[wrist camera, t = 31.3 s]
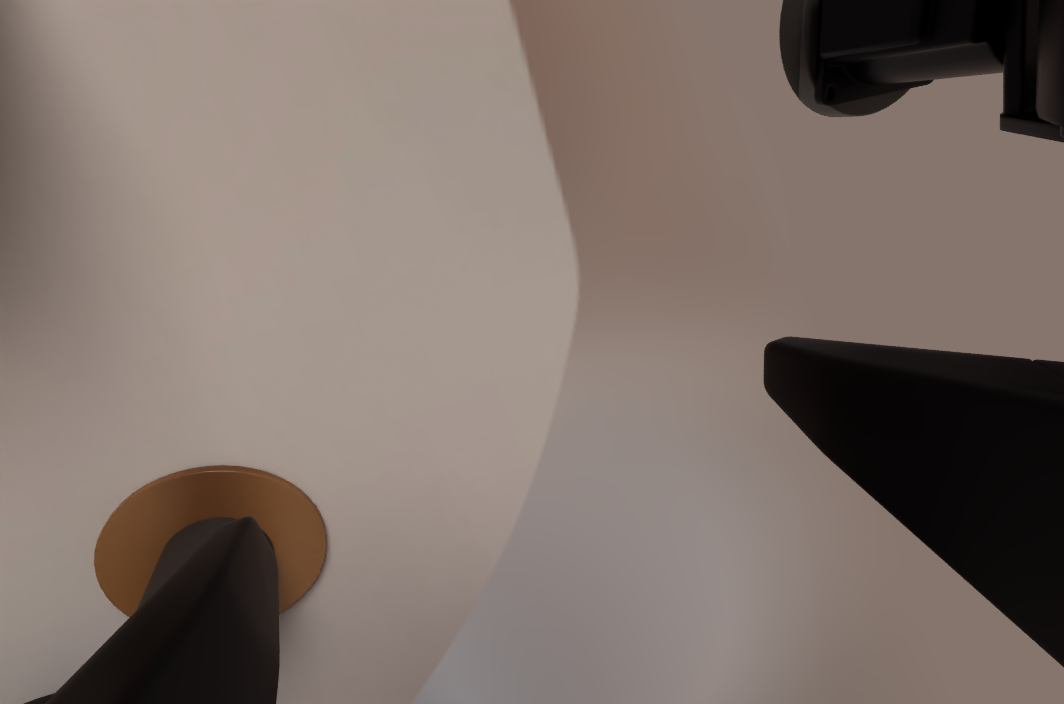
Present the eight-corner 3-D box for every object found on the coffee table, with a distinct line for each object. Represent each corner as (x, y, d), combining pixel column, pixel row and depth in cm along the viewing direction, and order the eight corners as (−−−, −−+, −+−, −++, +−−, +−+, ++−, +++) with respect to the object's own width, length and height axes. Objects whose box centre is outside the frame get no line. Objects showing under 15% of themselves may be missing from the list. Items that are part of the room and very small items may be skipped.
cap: (216, 498, 20) (194, 560, 17) (297, 549, 22) (290, 613, 19) (134, 567, 20) (99, 641, 17) (223, 612, 22) (205, 686, 19)
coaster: (287, 437, 20) (285, 442, 20) (351, 582, 24) (351, 588, 23) (52, 509, 18) (46, 516, 18) (158, 655, 22) (155, 663, 21)
